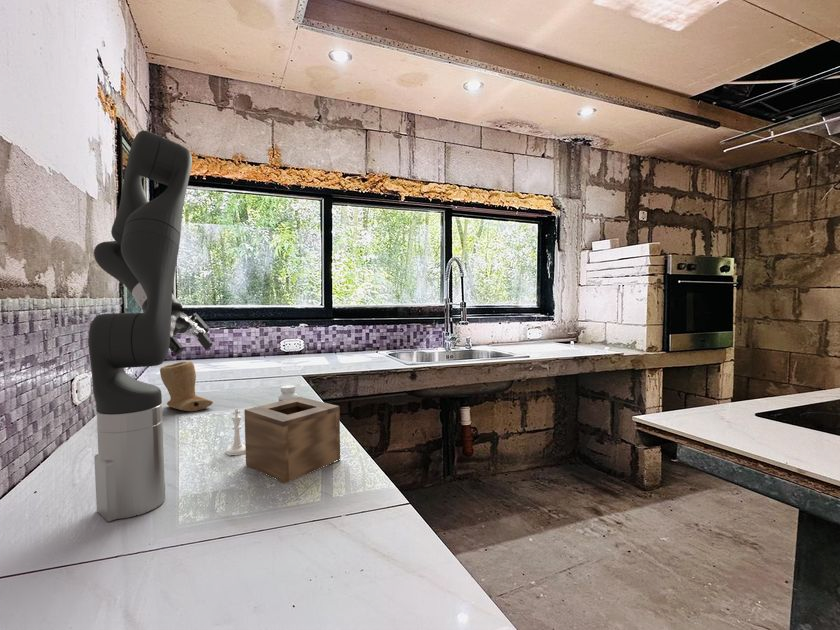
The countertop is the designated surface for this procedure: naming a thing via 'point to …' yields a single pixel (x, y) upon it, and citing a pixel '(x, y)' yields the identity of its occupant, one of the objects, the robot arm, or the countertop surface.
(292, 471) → the walnut box
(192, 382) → the tan fabric boot shape
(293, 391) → the supplement bottle
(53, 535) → the countertop surface
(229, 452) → the chess piece
